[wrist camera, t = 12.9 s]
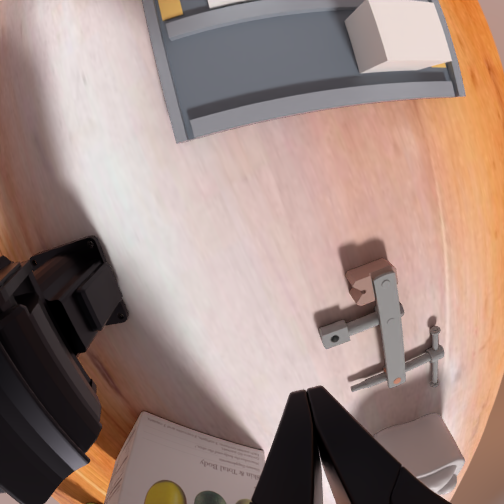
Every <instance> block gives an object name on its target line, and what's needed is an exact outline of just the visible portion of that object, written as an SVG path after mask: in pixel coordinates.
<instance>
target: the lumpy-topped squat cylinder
mask: <svg viewBox="0 0 504 504" xmlns="http://www.w3.org/2000/svg"><path fill="white" fill-rule="evenodd" d="M373 437H374V438H375V439H376V440H377V441H378V442H379V443H380V444H381V445H382V446H383V447H384V448H385V449H386V450H387V451H388V452H389V453H390V454H391V455H393V456H394V457H395V458H396V459H397V460H398V461H399V462H400V463H401V464H402V466H404V467H405V468H406V469H408V470H409V471H410V472H411V473H412V474H413V475H414V476H415V477H416V478H417V479H419V480H420V481H421V482H422V483H423V484H424V485H426V486H427V487H428V488H429V489H431V490H432V491H434V492H435V493H436V494H447V493H449V492H451V491H452V490H453V489H454V488H455V486H456V483H457V475H458V474H459V472H460V470H461V469H462V467H463V465H464V463H465V459H464V457H463V455H462V454H461V452H460V450H459V448H458V446H457V444H456V442H455V440H454V439H453V437H452V435H451V433H450V431H449V430H448V428H447V426H446V424H445V423H444V421H443V419H442V417H441V416H440V415H439V414H437V413H432V414H428V415H425V416H423V417H421V418H418V419H416V420H414V421H411V422H408V423H404V424H400V425H395V426H392V427H389V428H386V429H384V430H382V431H380V432H379V433H377V434H376V435H374V436H373Z"/></svg>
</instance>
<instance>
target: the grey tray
mask: <svg viewBox="0 0 504 504" xmlns="http://www.w3.org/2000/svg"><path fill="white" fill-rule="evenodd" d="M364 1H365V0H254V1H248V2H243V3H238V4H233V5H228V6H224V7H219V8H215V9H211V10H210V7H209V4H208V0H142V2H143V7H144V12H145V17H146V21H147V26H148V30H149V35H150V39H151V43H152V48H153V52H154V56H155V61H156V65H157V69H158V73H159V77H160V81H161V85H162V89H163V93H164V97H165V101H166V105H167V109H168V113H169V117H170V121H171V124H172V128H173V132H174V136H175V140H176V143H184V142H187V141H190V140H194V139H197V138H201V137H204V136H208V135H212V134H215V133H219V132H223V131H227V130H231V129H235V128H239V127H243V126H247V125H251V124H256V123H260V122H265V121H269V120H274V119H279V118H283V117H288V116H294V115H299V114H304V113H310V112H316V111H321V110H328V109H334V108H341V107H348V106H355V105H363V104H371V103H380V102H389V101H400V100H413V99H428V98H451V97H463V96H466V95H465V90H464V85H463V81H462V76H461V72H460V68H459V64H458V60H457V56H456V53H455V49H454V46H453V42H452V39H451V36H450V32H449V29H448V26H447V23H446V20H445V18H444V15H443V12H442V9H441V6H440V4H439V1H438V0H414V1H423V2H431V3H434V5H435V8H436V11H437V14H438V16H439V19H440V22H441V25H442V28H443V31H444V34H445V38H446V41H447V44H448V48H449V51H450V55H451V59H452V61H450V62H446V63H442V64H438V65H434V66H431V67H427V68H423V69H420V70H409V71H387V72H372V73H359V69H358V65H357V61H356V58H355V54H354V51H353V47H352V44H351V41H350V38H349V34H348V31H347V28H346V25H345V22H344V21H345V20H346V19H347V18H348V17H349V16H350V15H351V14H352V13H353V12H354V11H355V10H356V9H357V8H358V7H359V6H360V5H361V4H362V3H363V2H364Z"/></svg>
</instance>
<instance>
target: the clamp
mask: <svg viewBox="0 0 504 504" xmlns="http://www.w3.org/2000/svg"><path fill="white" fill-rule="evenodd" d="M345 276H346V278H347V279H348V281H349V282H350V284H351V285H352V288H351V290H350V291H349V293H350V295H351V296H352V298H353V299H354V301H355V302H356V304H357V305H359V306H363V305H365V304H368V303H370V302H373V301H375V299H376V306H375V308H374V311H375V312H374V313H371V314H369V315H366V316H364V317H361V318H359V319H356V320H353V321H351V322H348V323H345V321H344V320H341V321H338V322H335V323H332V324H330V325H327V326H324V327H321V328H319V334H320V337H321V340H322V343H323V345H324V347H325V348H326V349H329V348H331V347H334V346H337V345H340V344H342V343H345V342H348V341H350V337H349V336H351V335H354V334H356V333H359V332H362V331H364V330H367V329H369V328H372V327H374V326H377V325H379V324H380V329H381V336H382V343H383V350H384V357H385V366H384V367H383V369H384V372H383V373H381V374H378V375H376V376H373V377H371V378H368V379H365V381H363V382H361V383H359V384H356V385H354V386H351V390H352V392H354V391H357V390H360V389H362V388H363V389H364V388H366V387H367V388H369V387H371V386H374V385H376V384H379V383H381V382H384V381H386V380H387V383H388V387H389V388H392V387H395V386H398V385H400V384H402V383H404V382H405V381H406V374H405V372H407V371H409V370H411V369H414V368H416V367H418V366H420V365H422V364H424V363H426V362H428V361H429V362H430V363H432V380H431V381H430V386H431V387H437V386H438V385H439V381H438V380H437V372H438V360H439V359H441V358H443V356H444V350H443V347H442V346H441V345H439V344H438V334H439V333H440V331H441V330H440V328H439V327H438V326H434V327H432V328H431V329H430V334H432V348H430V349H428V350H426V354H424V355H422V356H419V357H417V358H415V359H413V360H411V361H408V362H406V363H405V357H404V344H403V333H402V323H401V317H402V316H403V315H404V310H403V307H402V305H401V303H400V302H399V297H398V290H397V284H398V279H397V273H396V268H395V267H394V266H393V265H392V264H391V263H390V262H389V261H387V260H385V259H383V258H380V259H378V260H375V261H373V262H370V263H367V264H365V265H362V266H359V267H357V268H354V269H351V270H348V271H347V273H346V275H345Z"/></svg>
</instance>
